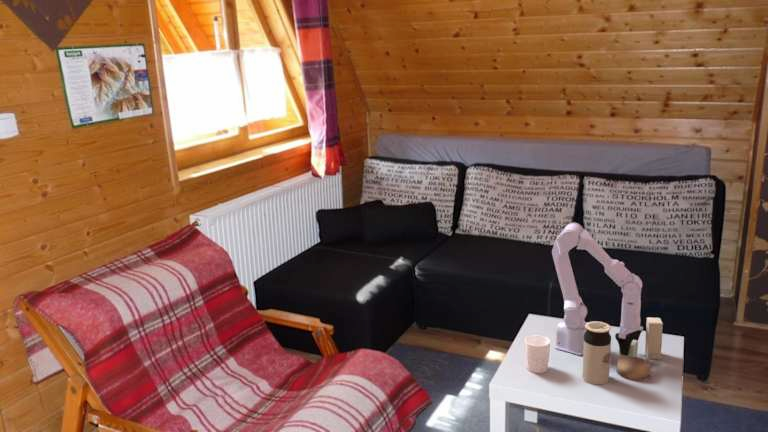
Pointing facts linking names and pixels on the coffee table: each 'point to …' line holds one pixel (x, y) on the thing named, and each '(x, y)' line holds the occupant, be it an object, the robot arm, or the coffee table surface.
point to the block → (631, 350)
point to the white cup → (537, 353)
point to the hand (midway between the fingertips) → (628, 350)
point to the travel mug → (596, 352)
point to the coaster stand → (633, 368)
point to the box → (653, 338)
